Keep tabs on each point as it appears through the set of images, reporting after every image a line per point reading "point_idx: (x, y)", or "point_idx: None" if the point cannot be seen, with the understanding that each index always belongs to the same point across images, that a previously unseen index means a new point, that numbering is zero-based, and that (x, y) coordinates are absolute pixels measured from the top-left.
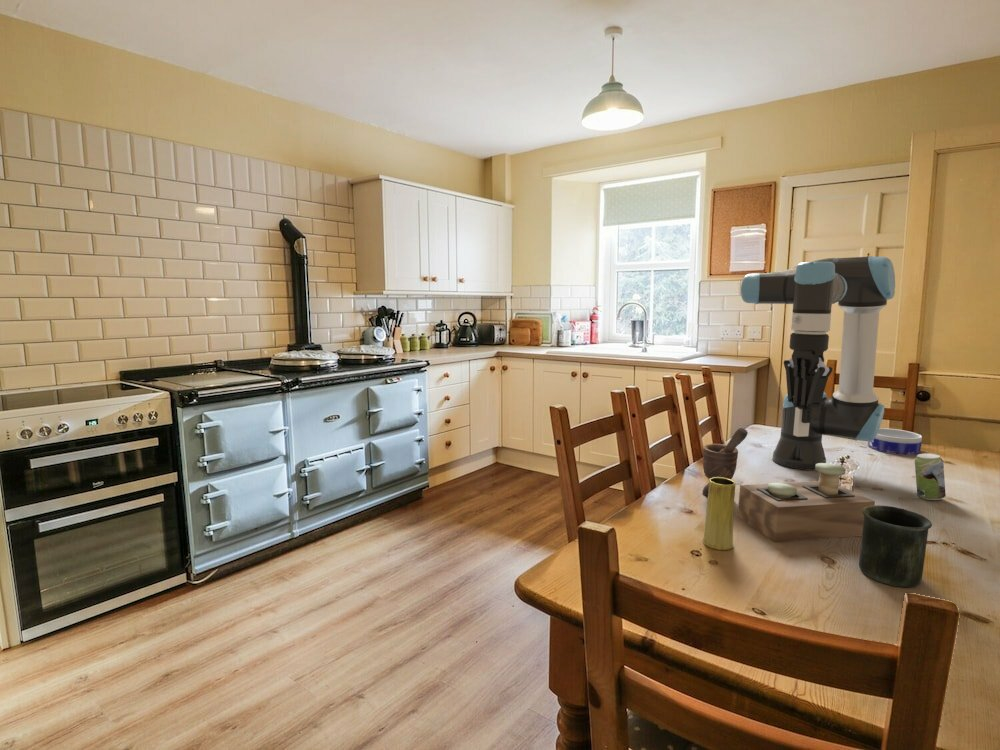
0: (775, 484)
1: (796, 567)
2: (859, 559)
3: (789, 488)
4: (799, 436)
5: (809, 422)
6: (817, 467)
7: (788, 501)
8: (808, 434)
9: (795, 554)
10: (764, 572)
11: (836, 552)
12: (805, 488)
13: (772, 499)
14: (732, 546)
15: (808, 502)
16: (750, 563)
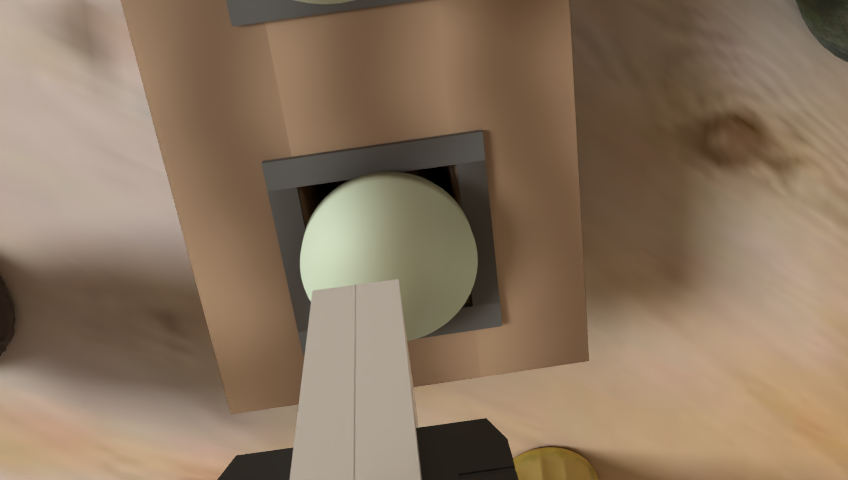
0: (335, 282)
1: (762, 298)
2: (838, 51)
3: (414, 231)
4: (413, 388)
5: (490, 433)
6: (322, 3)
7: (510, 266)
8: (396, 287)
9: (663, 246)
10: (773, 421)
11: (671, 52)
12: (266, 20)
13: (472, 337)
14: (587, 461)
15: (534, 155)
16: (704, 439)
